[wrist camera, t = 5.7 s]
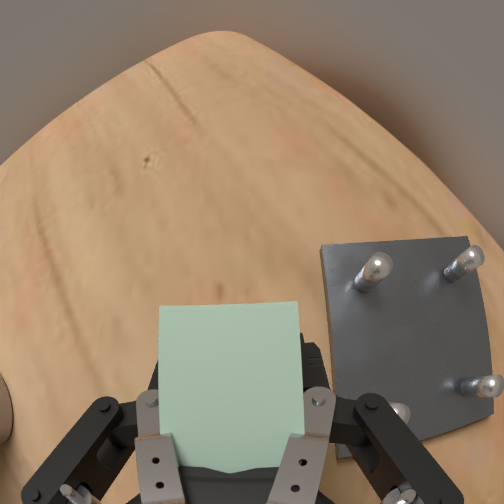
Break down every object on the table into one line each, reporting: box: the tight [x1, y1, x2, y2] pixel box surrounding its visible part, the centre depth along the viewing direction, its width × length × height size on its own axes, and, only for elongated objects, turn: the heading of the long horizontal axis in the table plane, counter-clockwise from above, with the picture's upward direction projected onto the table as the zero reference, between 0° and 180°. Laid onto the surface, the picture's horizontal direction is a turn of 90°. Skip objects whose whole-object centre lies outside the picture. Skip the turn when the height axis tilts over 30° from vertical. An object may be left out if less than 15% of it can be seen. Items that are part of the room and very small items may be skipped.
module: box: [158, 301, 305, 473], centre depth 13 cm, size 4×6×10 cm
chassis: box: [320, 236, 504, 458], centre depth 19 cm, size 14×16×5 cm
